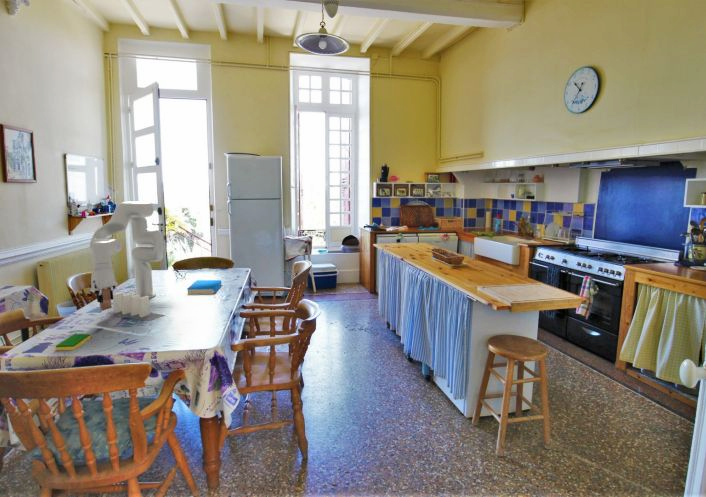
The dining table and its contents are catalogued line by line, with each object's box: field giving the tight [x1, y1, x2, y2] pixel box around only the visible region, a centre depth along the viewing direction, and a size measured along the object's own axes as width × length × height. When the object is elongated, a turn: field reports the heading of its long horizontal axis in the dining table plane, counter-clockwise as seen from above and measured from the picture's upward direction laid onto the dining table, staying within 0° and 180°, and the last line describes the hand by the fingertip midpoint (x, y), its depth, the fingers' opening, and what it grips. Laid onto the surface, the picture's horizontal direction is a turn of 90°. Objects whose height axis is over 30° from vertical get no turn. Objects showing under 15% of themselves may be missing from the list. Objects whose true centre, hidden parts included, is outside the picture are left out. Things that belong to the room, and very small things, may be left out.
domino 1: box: [99, 288, 112, 311], centre depth 209 cm, size 2×5×10 cm, turn 159°
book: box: [186, 279, 223, 295], centre depth 276 cm, size 17×4×25 cm
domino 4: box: [130, 295, 140, 316], centre depth 216 cm, size 2×5×10 cm, turn 159°
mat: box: [106, 310, 166, 322], centre depth 217 cm, size 30×11×1 cm, turn 69°
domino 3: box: [121, 292, 133, 314], centre depth 218 cm, size 2×5×10 cm, turn 159°
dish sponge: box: [55, 333, 91, 351], centre depth 178 cm, size 7×14×2 cm, turn 6°
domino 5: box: [138, 296, 151, 317], centre depth 214 cm, size 2×5×10 cm, turn 159°
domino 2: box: [112, 291, 124, 313], centre depth 220 cm, size 2×5×10 cm, turn 159°
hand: (105, 300), depth 209 cm, fingers closed on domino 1, 4 cm apart
